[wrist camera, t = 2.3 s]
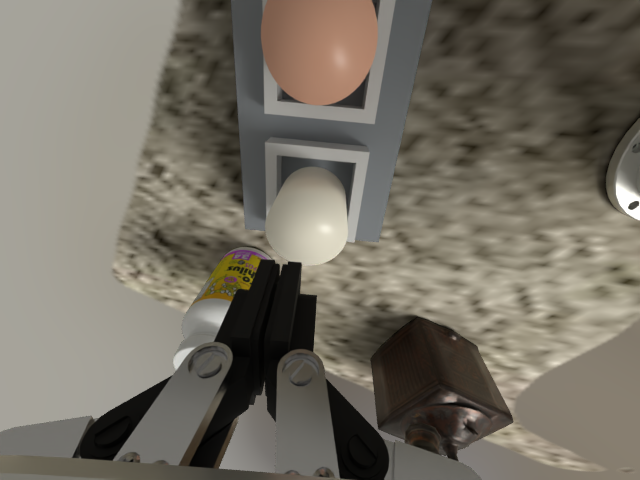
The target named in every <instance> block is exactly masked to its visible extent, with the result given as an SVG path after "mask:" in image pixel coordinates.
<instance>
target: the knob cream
mask: <svg viewBox="0 0 640 480" xmlns="http://www.w3.org/2000/svg"><path fill="white" fill-rule="evenodd" d="M265 232H266V236H267V239H268V242H269V243H270V245H271V247H272V248H273V249H274V250H275V252H276V253H277V254H279V255H280V256H281V257H283V258H284V259H286V260H288V261H291V262H302V265H307V266H311V265H319V264H322V263H325V262H328V261H330V260H331V259H333V258H334V257H336V256H337V255H338V254H339V253H340V252H341V250H342V249H343V247H344V246H345V243H346V241H347V237H348V222H347V207H346V194H345V190H344V187H343V185H342V183H341V181H340V180H339V179H338V178H337V177H336V176H335V175H334V174H333V173H331V172H330V171H328V170H326V169H323V168H320V167H305V168H301V169H298V170H297V171H295V172H293V173H292V174H291V175H290V176H289V177H288V178H287V179H286V180H285V182H284V184H283V186H282V188H281V190H280V191H279V193H278V195H277V197H276V199H275V201H274V203H273V205H272V207H271V209H270V211H269V213H268V215H267V218H266V222H265Z"/></svg>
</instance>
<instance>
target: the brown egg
mask: <svg viewBox="0 0 640 480" xmlns="http://www.w3.org/2000/svg"><path fill="white" fill-rule="evenodd" d="M377 40H378V25H377V17H376V13H375V8H374V5H373V3H372V0H267V3H266V5H265V8H264V12H263V16H262V24H261V43H262V49H263V54H264V58H265V61H266V64H267V66H268V69H269V71H270V73H271V75H272V76H273V78H274V79H275V81H276V82H277V84H278V85H279V86H280V87H281V88H282V89H283V90H284V91H285V92H286V93H287V94H288V95H290V96H291V97H293V98H294V99H296V100H298V101H300V102H303V103H306V104H310V105H328V104H332V103H336V102H338V101H340V100H342V99H344V98H346V97H347V96H349V95H350V94H351V93H352V92H354V91H355V90H356V89H357V88H358V87H359V86H360V84H361V83H362V82H363V80H364V79H365V77H366V75H367V74H368V72H369V70H370V68H371V65H372V63H373V60H374V57H375V53H376V48H377Z"/></svg>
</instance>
